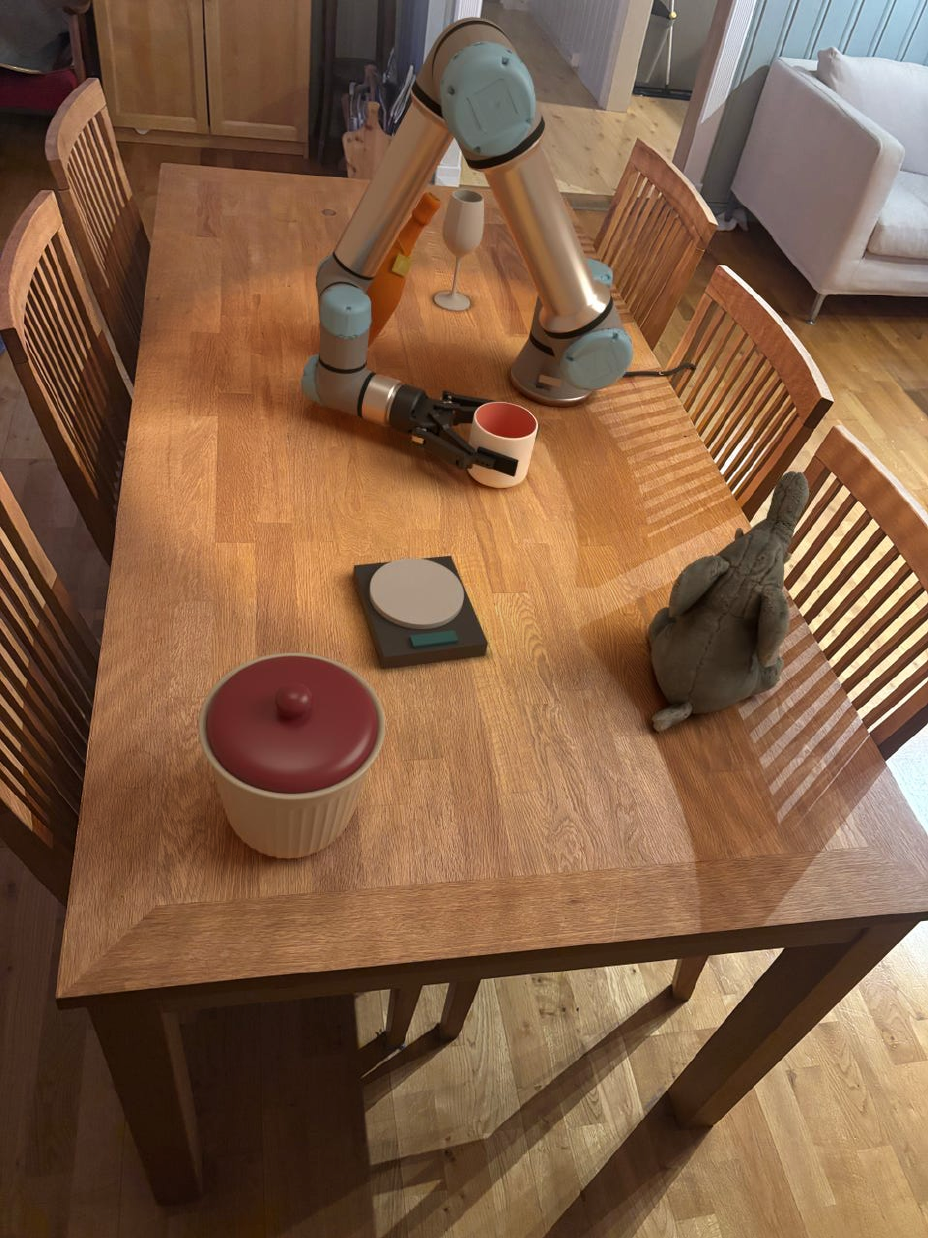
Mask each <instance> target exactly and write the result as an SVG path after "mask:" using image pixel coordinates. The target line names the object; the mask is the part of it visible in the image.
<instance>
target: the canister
mask: <svg viewBox="0 0 928 1238" xmlns="http://www.w3.org/2000/svg"><path fill="white" fill-rule="evenodd" d="M200 707H201V708H200V711H199V715H198V719H197V720H198V722H197V734H198V740H199V744H200V748H201V750H202V752H203V755H204V757H205V758H206V760H207V761H208V763H209V764H210V766H211V767H212V770H213V774H214V777H215V778H214V779H215V782H216V786H217V789H218V794H219V795H220V800H221V803H222V806H223V809H224V813H225V815H226V817H227V820H228V822H229V825H230V826H231V828H232V829H233V831H234V833H235V834H236V836H238V837H239V838H240V839H241V841H242V842H243V843H244V844H246V845H248V846H249V847H250V849H253V850H255V851H257V852H258V853H260V854H264V855H267V856H268V857H274V858H277V859H287V860H289V859H299V858H303V857H309V856H310V855H312V854H317V853H319V851H321V850H324V849H325V850H326V848H327V847H328V846H329V845H331V844H333V843H335V842H336V840H337V838H339V837H340V836H341V835H342V834H343V833H344V831H345V829H346V828H347V827H348V825H349V824H350V821H351V819H352V818H353V815H354V813H355V811H356V808H357V805H358V803H359V799H360V798H361V794H362V791H363V788H364V785H365V782H366V779H367V777H368V773H369V770H370V768H371V767H372V766H373V764H374V763H375V761H376V759H377V758H378V756H379V754H380V752H381V750H382V747H383V744H384V741H385V736H386V717H385V716H386V715H385V710H384V707H383V705H382V702H381V700H380V698H379V696H378V694H377V693H376V691H375V689H374V688H373V687H372V686H371V684H370V683H369V682H368V681H367V680H366V679H365V678H364V677H362V675H360V674H359V673H358V672H357V671H355V670H354V669H352V668H351V667H349V666H347V665H345V664H344V663H342V662H339V661H337V660H335V659H332V658H330V657H326V656H323V655H319V654H313V653H307V652H294V651H293V652H290V651H289V652H278V653H272V654H271V653H270V654H266V655H263V656H259V657H256V658H253V659H250V660H248V661H246V662H245V661H244V662H243V663H241V664H239V665H238V666H235V667H234V668H233V669H231V670H230V671H228V672H227V673H226V674H224V675H223V676H221V678H219V680H217V682H216V683H214V685H213V686H212V687H211V689H210V690H209V692H208V693H207V694H206V696H205V698H204V700H203V702H202V704H201V706H200Z"/></svg>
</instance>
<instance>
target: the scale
mask: <svg viewBox="0 0 928 1238" xmlns="http://www.w3.org/2000/svg"><path fill="white" fill-rule="evenodd" d="M352 580H353V584H354V586H355V589H356V592H357V595H358V599H359V601H360V605H361V608H362V611H363V615H364V617H365V620H366V624H367V627H368V631H369V633H370V636H371V639H372V642H373V645H374V648H375V652H376V655H377V658H378V661H379V664H380V667H381V669H382V670H388V669H393V668H401V667H402V668H403V667H408V666H409V667H411V666H415V665H424V664H431V663H437V662H439V663H440V662H445V661H453V660H459V659H460V660H461V659H468V658H476V657H482V656H486V654H487V650H488V646H489V645H488V644H489V642H488V640H487V636H486V635H485V633H484V630H483V628H482V625H481V623H480V621H479V618H478V616H477V614H476V611H475V609H474V607H473V604H472V602H471V600H470V597H469V594H468V593H467V590H466V588H465V585H464V583H463V581H462V578H461V576H460V574H459V572H458V569H457V567H456V564H455V562H454V559H453V557H452V555H443V556H432V557H423V558H422V557H421V558H417V557H406V558H398V559H395V560H392V561H384V562H374V563H373V562H372V563H363V564H354V565H353V570H352Z"/></svg>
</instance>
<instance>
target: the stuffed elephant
mask: <svg viewBox="0 0 928 1238" xmlns="http://www.w3.org/2000/svg"><path fill="white" fill-rule="evenodd" d="M809 496H810V488H809V482H808V479H807V478H806V475H805V474H804V473H803V471H794V470H789V471H787V472H785V473H784V474H783V475H782V476H781V477H780V479H779V480H778V481H777V482H776V484H775V486H774V488H773V492H772V497H771V500H770V505H769V508H768V510H767V513H766V518H764V519H762V520H760V521H759V522H757V523H756V524H755V525H753V527H751V529H750V530H748V531H747V532H745V533H744V530H743V529H742V527H738V528H736V530H735V532H734V538H733V539H734V540H733V541H731V542H730V543H728V544H727V545H725V546H724V548H723V549H721V550H720V551H719V552H718V553H716V554H714V555H713V554H711V555H705V556H703V557H700V558H697V559H696V560H694V561H692V562H691V563H689V564H687V565H686V566H685V567H684V568H683V570H682V571H680V574H678V576H677V577H676V579H675V581H674V582H673V584H672V587H671V591H670V593H669V594H670V595H669V599H668V606H665V607H662V608H661V609H659V610H658V611H657V612H656V614H655V615H654V617H653V618H652V620H651V622H650V624H649V625H648V628H647V634H648V635H647V637H648V641H649V646H650V648H651V652H650V660H651V664H652V667H653V671H654V674H655V678H656V681H657V683H658V684H657V685H658V686H659V688H660V689H661V692H662V693H663V695H664V697H665V699H666V701H667V702H668V703H669V704H670V705H671V706H669V707H667V708H663V709H662V710H659V711H657V713H655V714H653V716H652V718H651V720H652V722H653V729H654V730H655V731H656V732H660V733H662V732H663V731H665V730H667V729H669V728H671V727H672V726H674V725H677V724H679V723H680V722H683V721H685V720H686V719H688V717H689V716H690V715H691V714H711V713H715V712H719V711H721V710H724V709H726V708H729V707H731V706H733V705H735V704H737V703H738V702H739V701H743V700H745V699H747V698H748V697H752V696H756V695H759V694H763V693H765V692H767V691H770V690H772V689H773V688H775V687H776V686H777V684H778V682H780V681H781V675H782V672H783V669H784V665H785V663H784V661H785V660H784V659H783V658H782V656H781V655H780V647H781V646H782V645H783V643H784V641H785V639H786V637H787V634H788V633H789V631H790V624H791V613H790V611H791V610H790V604H789V601H788V600H787V597H786V596H785V595H786V594H785V593H784V592H783V589H784V584H785V583H784V581H785V564H787V563H789V562H790V560H791V559H792V557H793V554H792V553H791V552H787V551H788V549H789V547H790V546H791V543H792V540H793V537H794V533H795V529H796V527H797V524H798V523H797V522H798V520H799V517H800V516H801V514H802V513H803V511H804V509H805V506H806V504H807V503H808V501H809Z"/></svg>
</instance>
